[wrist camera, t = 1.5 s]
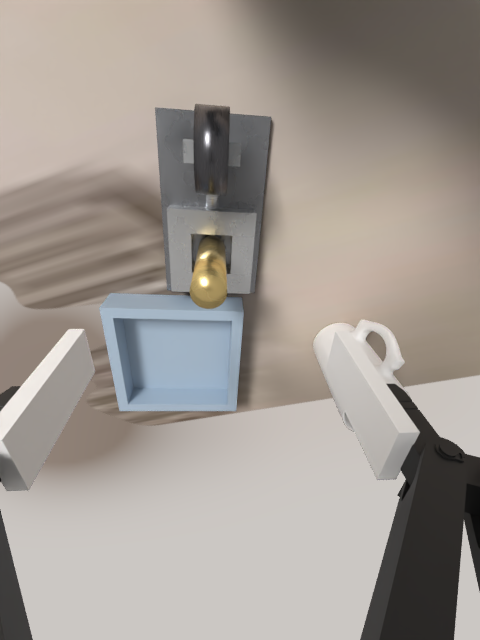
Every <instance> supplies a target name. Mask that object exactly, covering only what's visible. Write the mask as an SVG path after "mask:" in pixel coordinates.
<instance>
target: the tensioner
mask: <svg viewBox="0 0 480 640" xmlns="http://www.w3.org/2000/svg"><path fill="white" fill-rule="evenodd" d="M155 113H156V128H157V143H158V158H159V173H160V188H161V203H162V218H163V234H164V249H165V264H166V279H167V290H171V291H177V292H190V286H191V281H192V276H193V272H194V267H195V262H196V258H197V253H198V248H199V244H200V242H201V240H202V239H203V238H205V237H207V236H216V237H219V238H220V239H221V240H222V241H223V243H224V245H225V255H226V277H227V293H239V294H250V293H255V283H256V272H257V262H258V251H259V241H260V230H261V220H262V209H263V199H264V188H265V178H266V167H267V156H268V146H269V135H270V125H271V117H266V116H254V115H242V114H230V107H227V106H215V105H203V104H195V110H194V111H192V110H180V109H167V108H155Z"/></svg>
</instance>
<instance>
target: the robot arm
mask: <svg viewBox="0 0 480 640" xmlns="http://www.w3.org/2000/svg"><path fill="white" fill-rule="evenodd" d="M326 372H327V374H328V377H329V379H330V381H331V383H332V385H333V387H334V389H335V391H336V394H337V396H338V398H339V400H340V402H341V404H342V406H343V408H344V410H345V413H346V415H347V417H348V419H349V421H350V423H351V425H352V427H353V430H354V432H355V434H356V436H357V438H358V440H359V442H360V444H361V446H362V449H363V451H364V453H365V455H366V457H367V459H368V461H369V463H370V466H371V468H372V470H373V472H374V474H375V476H376V478H377V480H390V479H396V478H397V476H398V474H399V472H400V470H401V471H402V473H403V474H404V476H405V478H406V480H405V482H404V484H403V486H402V488H401V490H400V491H399V493H398V496H399V497H400V499H399V502H398V506H397V509H396V513H395V517H394V521H393V524H392V528H391V531H390V535H389V538H388V542H387V545H386V549H385V553H384V556H383V560H382V564H381V567H380V571H379V574H378V578H377V581H376V585H375V589H374V592H373V596H372V599H371V603H370V607H369V610H368V614H367V618H366V621H365V625H364V628H363V632H362V635H361V639H360V640H454V631H455V618H456V606H457V595H458V582H459V570H460V558H461V546H462V534H463V533H462V532H463V521H465V526H466V530H467V535H468V540H469V545H470V549H471V554H472V558H473V563H474V568H475V572H476V577H477V582H478V586H479V591H480V458H479V457H475V456H471V455H467V454H465V453H464V452H463V450H462V449H461V448H460V447H458V446H457V445H456V444H454V443H453V442H451V441H449V440H447V439H444V438H441V437H439V435H438V434H437V433H436V432H435V430H434V429H433V428H432V426H431V425H430V424H429V422H428V421H427V420H426V418H425V417H424V416H423V414H422V413H421V412H420V410H418V408H417V406H416V405H415V404H414V403H413V402H412V400H411V398H410V397H409V396H408V395H407V393H406V392H405V391H404V390H403V389H401V388H400V387H399V386H397V385H396V384H386V383H385V382H384V380H383V379H382V377H381V376H380V375H379V373H378V372H377V370H376V369H375V367H374V366H373V365H372V363H371V362H370V360H369V359H368V357H367V356H366V355H365V353H364V352H363V350H362V349H361V347H360V346H359V345H358V343H357V342H356V340H355V339H354V337H353V336H352V335H351V333H350V332H349V331H335V335H334V339H333V343H332V347H331V351H330V355H329V360H328V364H327V368H326ZM94 373H95V368H94V364H93V361H92V357H91V353H90V349H89V345H88V341H87V337H86V333H85V329H69V330H68V331H67V332H66V333H65V334H64V336H63V337H62V338H61V339H60V340H59V342H58V343H57V344H56V345H55V346H54V348H53V349H52V350H51V351H50V353H49V354H48V355H47V356H46V357H45V358H44V360H43V361H42V362H41V363H40V365H39V366H38V367H37V368H36V369H35V370H34V372H33V373H32V374H31V375H30V377H29V378H28V379H27V380H26V381H25V382H24V384H23V385H22V386H17V387H16V386H14V387H13V386H12V387H11V388H9V389H8V390H6V391H5V392H4V393H2V394H0V482H2V484H3V486H4V487H5V489H6V490H7V491H21V490H29V489H30V487H31V486H32V484H33V482H34V480H35V478H36V477H37V475H38V473H39V471H40V469H41V467H42V466H43V464H44V462H45V461H46V459H47V457H48V455H49V453H50V452H51V450H52V448H53V446H54V444H55V443H56V441H57V439H58V437H59V435H60V434H61V431H62V430H63V428H64V426H65V425H66V423H67V421H68V419H69V417H70V415H71V414H72V412H73V410H74V408H75V407H76V405H77V403H78V401H79V399H80V398H81V396H82V394H83V392H84V390H85V389H86V387H87V385H88V383H89V382H90V380H91V378H92V376H93V374H94ZM0 640H33V639H32V635H31V631H30V627H29V623H28V619H27V615H26V612H25V607H24V603H23V599H22V595H21V591H20V587H19V583H18V579H17V575H16V571H15V567H14V563H13V559H12V555H11V551H10V547H9V543H8V539H7V535H6V531H5V527H4V523H3V519H2V515H1V511H0Z"/></svg>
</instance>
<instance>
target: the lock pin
mask: <svg viewBox="0 0 480 640" xmlns="http://www.w3.org/2000/svg"><path fill="white" fill-rule="evenodd" d="M190 297H191V299H192V301H193V302H194V303H195V304H196V305H197V306H199V307H201V308H205V309H213V308H216V307H219V306H220V305H222V304H223V302H224V301H225V300H226V297H227V277H226V255H225V245H224V243H223V241H222V240H221V239H220V238H219V237H216V236H207V237H205V238H203V239H202V240H201V242H200V244H199V248H198V253H197V258H196V262H195V267H194V272H193V276H192V281H191V286H190Z"/></svg>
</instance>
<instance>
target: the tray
mask: <svg viewBox="0 0 480 640" xmlns="http://www.w3.org/2000/svg"><path fill="white" fill-rule="evenodd" d="M99 309H100V314H101V319H102V323H103V329H104V334H105V338H106V344H107V349H108V354H109V359H110V364H111V369H112V374H113V380H114V385H115V390H116V395H117V400H118V405H119V410H120V411H236V406H237V393H238V380H239V367H240V354H241V341H242V328H243V316H244V310H243V303H242V297H226V300H225V301H224V302H223V304H222V305H220V306H219V307H216V308H213V309H205V308H201V307H199V306H197V305H196V304H195V303H194V302H193V301H192V299H191V297H190V296H184V295H152V294H120V293H110V294H109V296H108V297H107V298H106V300H105V301H104V302H103V304H102V305H101V306H100V308H99Z"/></svg>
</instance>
